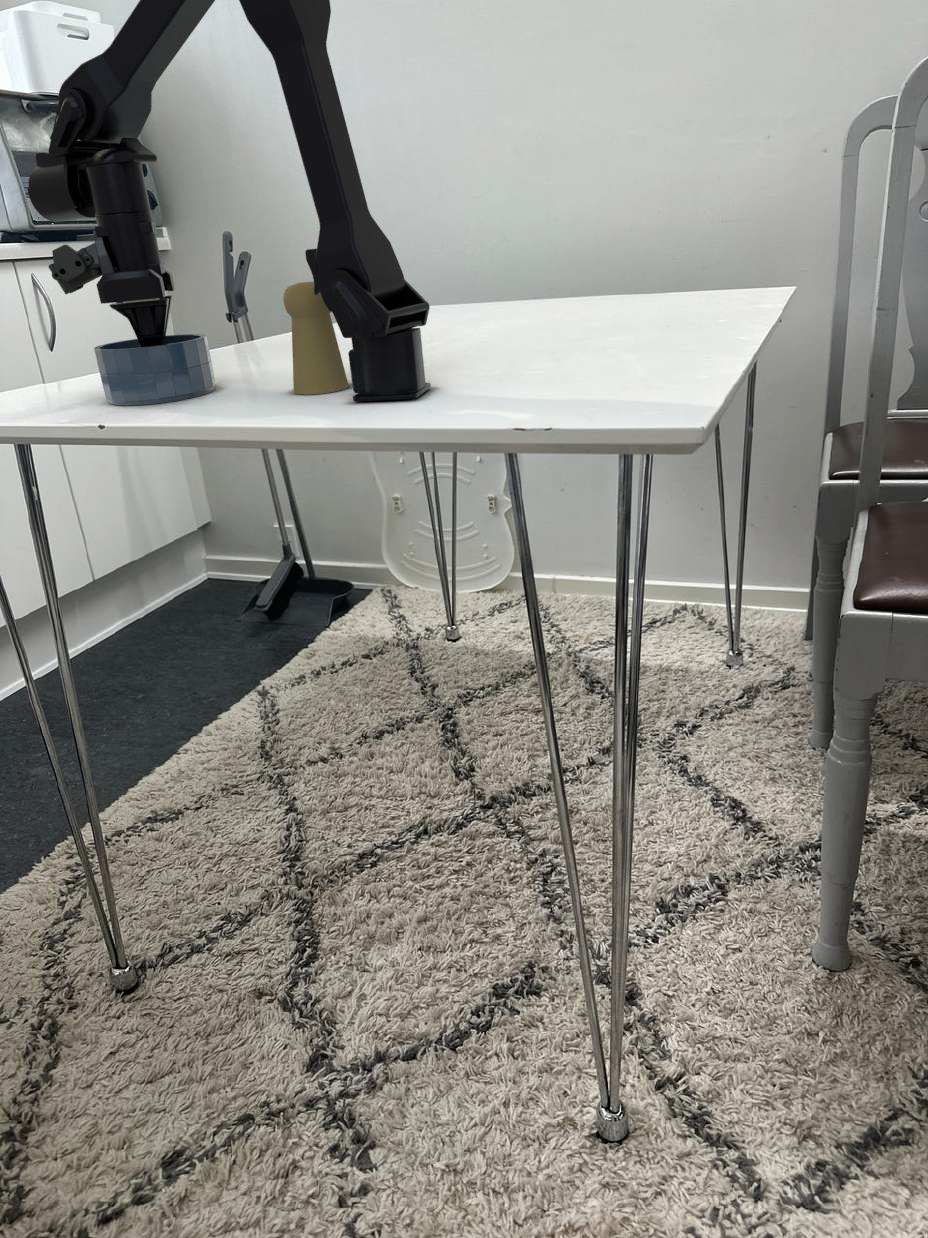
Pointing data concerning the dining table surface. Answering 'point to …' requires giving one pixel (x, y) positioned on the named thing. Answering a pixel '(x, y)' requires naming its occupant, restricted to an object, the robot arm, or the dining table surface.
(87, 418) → the dining table surface
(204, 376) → the bowl
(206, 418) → the dining table surface
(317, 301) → the cork
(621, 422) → the dining table surface
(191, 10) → the robot arm
